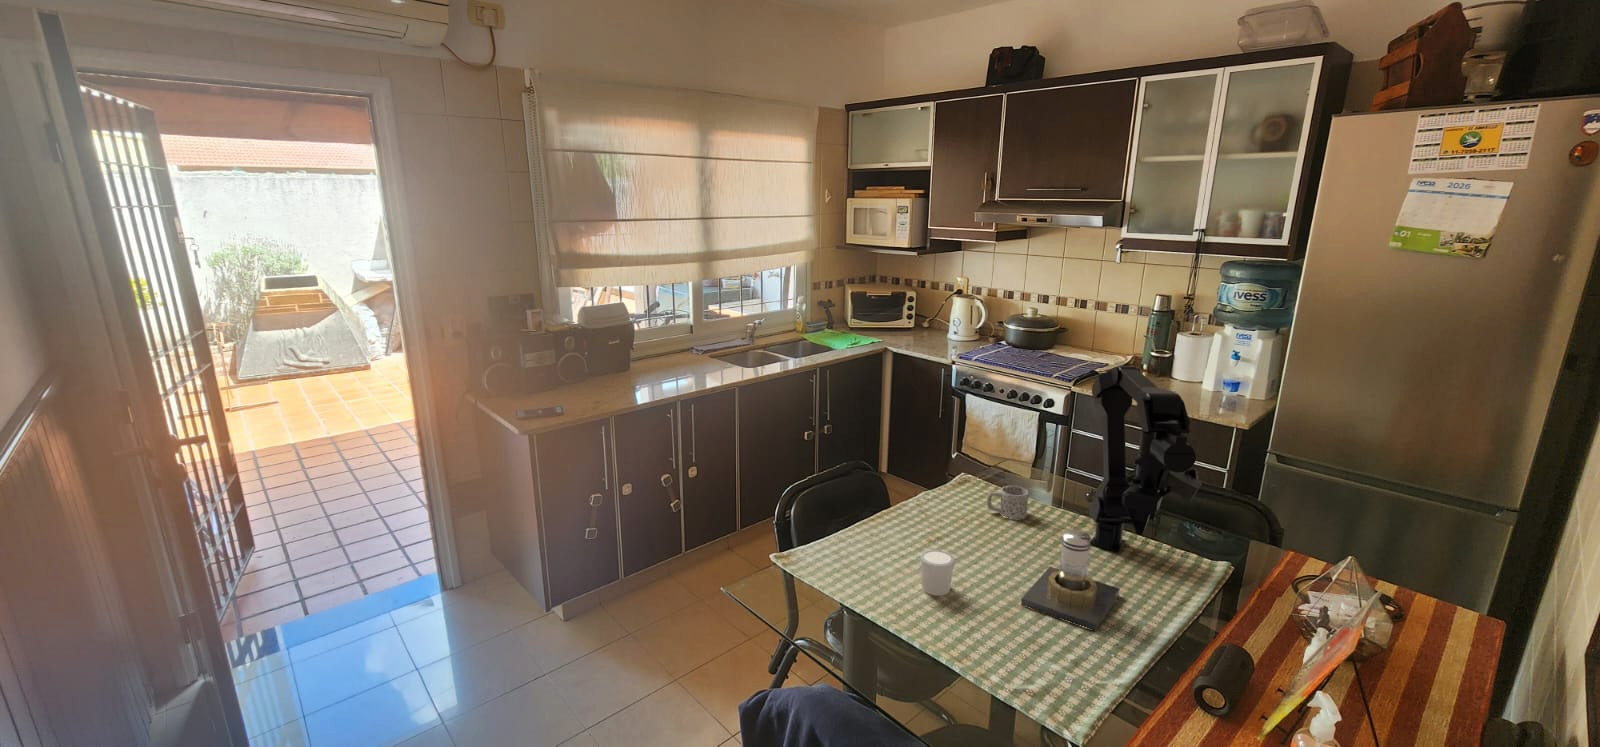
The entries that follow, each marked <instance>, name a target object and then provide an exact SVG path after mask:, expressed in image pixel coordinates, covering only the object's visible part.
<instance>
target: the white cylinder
mask: <svg viewBox="0 0 1600 747" xmlns="http://www.w3.org/2000/svg"><path fill="white" fill-rule="evenodd" d="M919 556H920V568H921V569H920V572H921V574H920V575H921V588H922V591H924V592H925V593H926V594H929V595H933V596H937V595H938V596H937V597H939V596H944V595H947V594H949V593H948V592H950V590H951V583H952V580H953V579H952V578H953V572H954V566H955V561H956V560H955V557H954V556H953V555H952V554H951V553H949V552H947V551H946V550H945V551H944V550H941V549H929V550H925V551H923V552H922V553H921V554H920V555H919Z"/></svg>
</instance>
